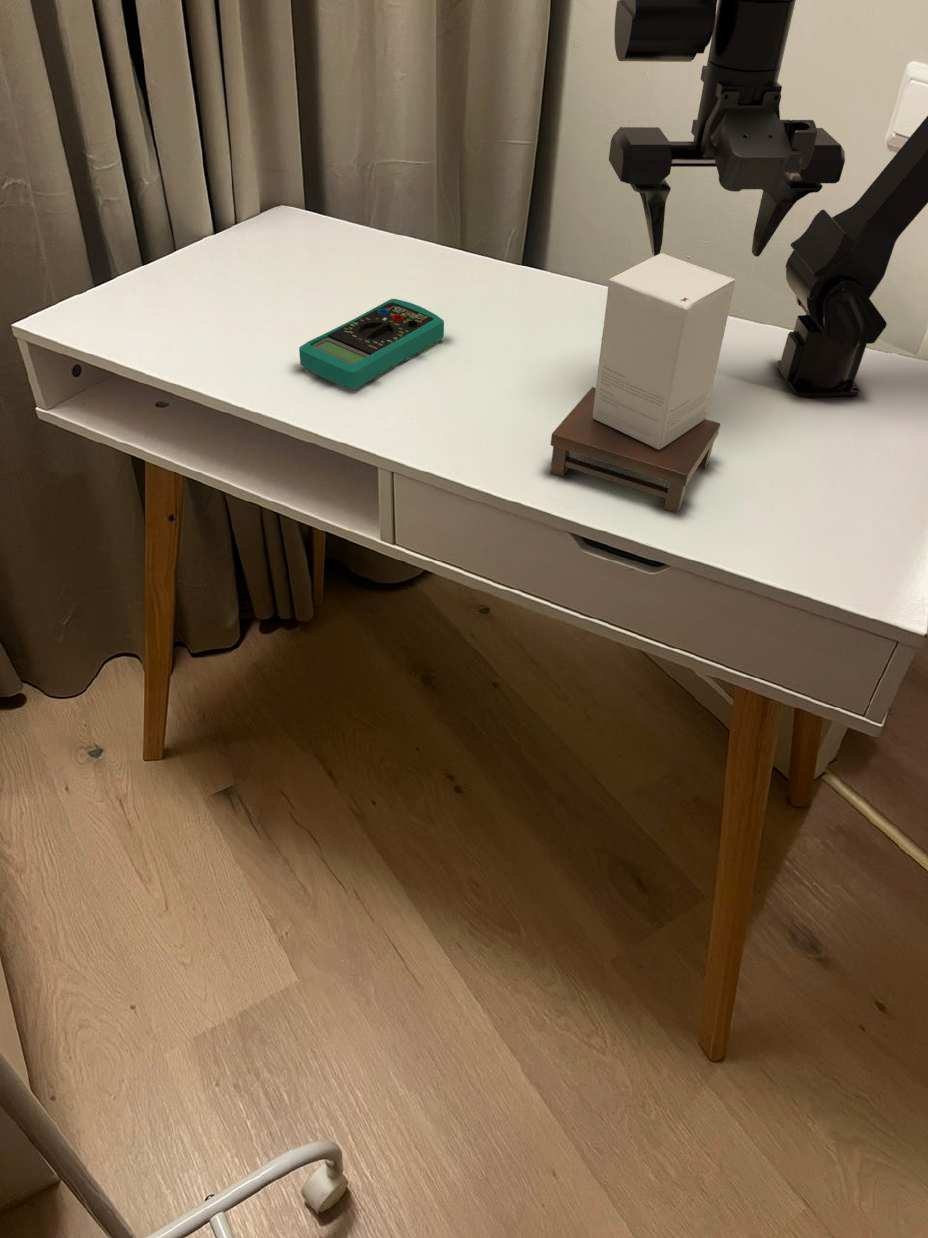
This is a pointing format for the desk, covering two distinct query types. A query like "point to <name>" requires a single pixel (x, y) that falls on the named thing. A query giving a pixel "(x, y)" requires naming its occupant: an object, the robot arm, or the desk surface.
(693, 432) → the small table
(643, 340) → the white packaging box
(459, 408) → the desk surface
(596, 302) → the desk surface
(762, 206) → the robot arm
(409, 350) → the digital multimeter
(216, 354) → the desk surface
